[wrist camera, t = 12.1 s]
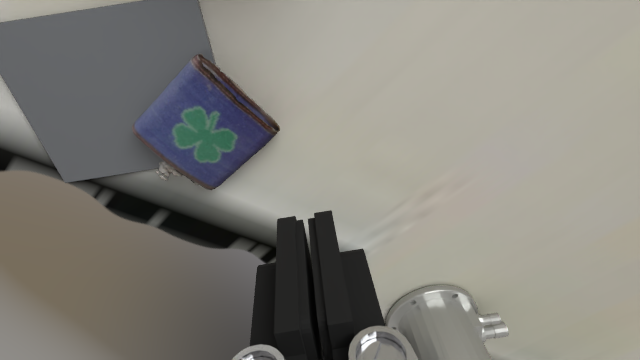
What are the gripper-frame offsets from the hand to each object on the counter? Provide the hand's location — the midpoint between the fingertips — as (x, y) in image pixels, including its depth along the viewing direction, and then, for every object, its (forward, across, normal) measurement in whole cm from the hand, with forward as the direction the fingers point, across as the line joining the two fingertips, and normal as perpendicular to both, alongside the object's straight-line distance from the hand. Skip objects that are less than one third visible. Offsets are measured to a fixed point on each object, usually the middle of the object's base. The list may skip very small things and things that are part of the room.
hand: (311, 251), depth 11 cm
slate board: (+23, +15, 0) cm, 28 cm away
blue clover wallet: (+21, +4, +1) cm, 22 cm away
